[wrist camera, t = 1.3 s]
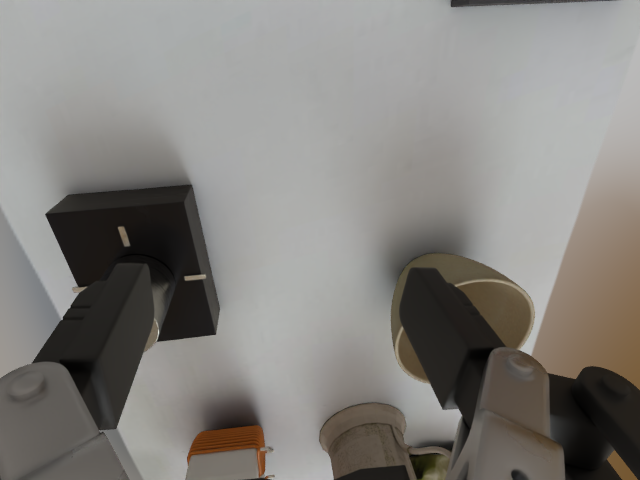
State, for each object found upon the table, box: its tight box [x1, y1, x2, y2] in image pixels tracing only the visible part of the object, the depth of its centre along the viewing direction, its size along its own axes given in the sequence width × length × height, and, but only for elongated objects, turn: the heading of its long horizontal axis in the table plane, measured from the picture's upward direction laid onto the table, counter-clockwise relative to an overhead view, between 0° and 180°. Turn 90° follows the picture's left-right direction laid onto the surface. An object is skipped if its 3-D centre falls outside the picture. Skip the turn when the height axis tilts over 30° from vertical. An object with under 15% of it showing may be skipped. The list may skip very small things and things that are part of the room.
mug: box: [319, 403, 451, 480], centre depth 36 cm, size 14×10×12 cm
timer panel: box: [45, 185, 220, 342], centre depth 26 cm, size 11×9×3 cm
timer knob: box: [100, 255, 175, 352], centre depth 23 cm, size 4×4×5 cm
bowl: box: [391, 253, 535, 384], centre depth 29 cm, size 10×10×7 cm
